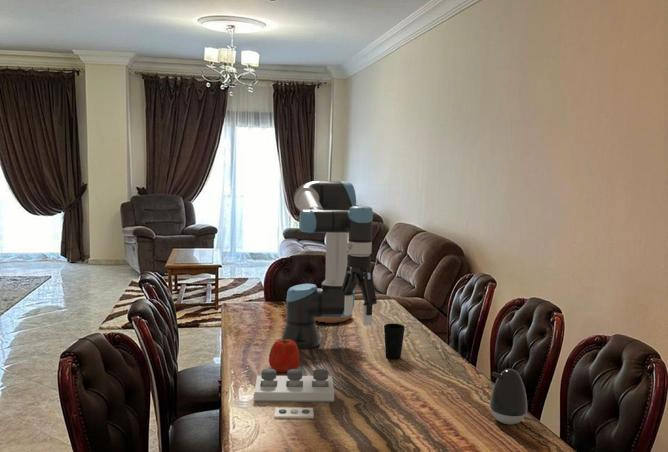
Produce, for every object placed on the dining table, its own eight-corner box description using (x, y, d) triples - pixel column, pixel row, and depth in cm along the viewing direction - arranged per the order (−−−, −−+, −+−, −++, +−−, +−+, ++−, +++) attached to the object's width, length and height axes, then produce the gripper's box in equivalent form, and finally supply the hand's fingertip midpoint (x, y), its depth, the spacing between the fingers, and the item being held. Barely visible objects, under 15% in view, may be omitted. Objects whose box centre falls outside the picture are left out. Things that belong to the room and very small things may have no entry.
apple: (286, 361, 216) (287, 333, 215) (306, 369, 208) (307, 339, 207) (262, 368, 208) (263, 338, 207) (282, 376, 200) (283, 346, 199)
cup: (402, 361, 219) (403, 329, 218) (381, 359, 221) (383, 328, 220) (404, 355, 227) (405, 324, 226) (384, 353, 228) (385, 322, 227)
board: (257, 384, 193) (257, 375, 192) (331, 385, 194) (331, 376, 194) (254, 401, 179) (254, 392, 179) (334, 402, 180) (334, 392, 180)
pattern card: (275, 409, 174) (275, 406, 174) (313, 409, 174) (313, 406, 174) (274, 418, 168) (274, 415, 168) (313, 418, 168) (313, 415, 168)
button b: (287, 383, 188) (287, 368, 188) (301, 383, 189) (302, 368, 188) (287, 389, 184) (287, 373, 183) (302, 389, 184) (302, 374, 184)
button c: (261, 383, 188) (261, 368, 187) (276, 383, 188) (276, 368, 188) (260, 388, 183) (261, 373, 183) (275, 388, 184) (276, 373, 183)
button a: (312, 383, 189) (313, 368, 188) (327, 383, 189) (327, 369, 189) (313, 389, 184) (313, 374, 184) (328, 389, 185) (328, 374, 184)
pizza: (307, 311, 291) (307, 303, 290) (354, 314, 288) (354, 306, 287) (298, 323, 268) (298, 315, 268) (349, 326, 265) (349, 318, 265)
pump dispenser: (483, 413, 175) (486, 363, 174) (517, 413, 176) (521, 363, 175) (495, 428, 165) (498, 375, 164) (532, 428, 166) (535, 375, 165)
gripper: (332, 249, 201) (331, 311, 203) (367, 261, 178) (365, 330, 180) (352, 249, 204) (350, 310, 206) (389, 260, 181) (386, 328, 183)
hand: (357, 319), depth 193 cm, fingers open, 13 cm apart
